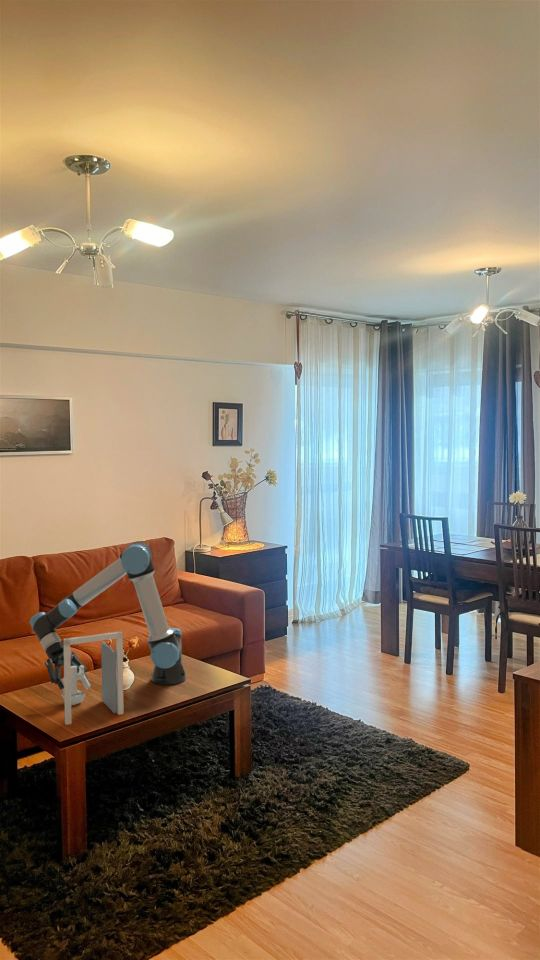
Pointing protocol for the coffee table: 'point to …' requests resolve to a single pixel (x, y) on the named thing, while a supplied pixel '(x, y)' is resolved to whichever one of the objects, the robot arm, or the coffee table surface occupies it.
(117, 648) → the door frame
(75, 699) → the figurine
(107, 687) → the door
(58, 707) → the coffee table surface
